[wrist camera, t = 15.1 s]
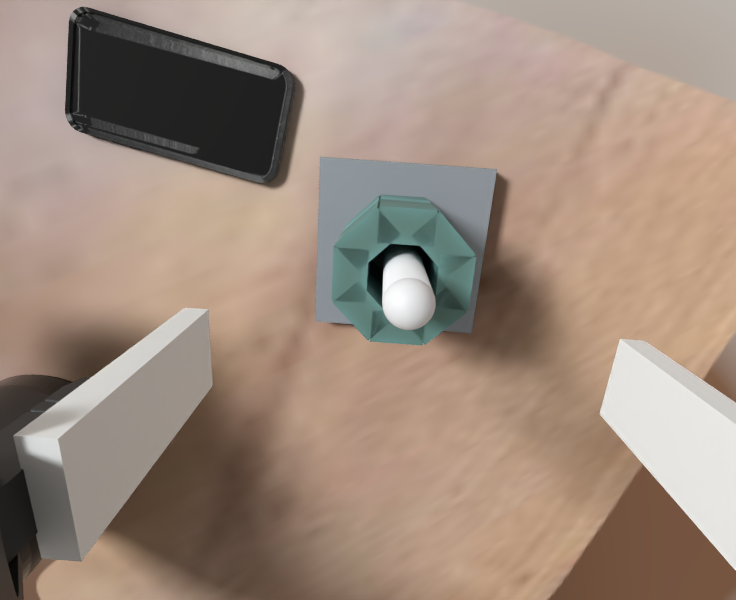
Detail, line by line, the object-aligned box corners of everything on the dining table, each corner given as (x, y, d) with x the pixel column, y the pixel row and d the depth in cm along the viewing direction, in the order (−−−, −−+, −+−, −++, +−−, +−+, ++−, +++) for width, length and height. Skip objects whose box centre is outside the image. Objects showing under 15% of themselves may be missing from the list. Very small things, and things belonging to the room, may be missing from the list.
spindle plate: (318, 314, 34) (271, 421, 20) (323, 157, 30) (269, 154, 16) (468, 325, 34) (525, 442, 20) (491, 168, 30) (583, 175, 16)
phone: (69, 2, 27) (296, 69, 28) (81, 8, 28) (299, 72, 29) (64, 129, 30) (272, 188, 30) (75, 130, 31) (276, 187, 31)
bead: (343, 296, 32) (330, 338, 24) (348, 192, 29) (335, 203, 22) (444, 303, 32) (463, 348, 24) (457, 199, 29) (482, 213, 22)
